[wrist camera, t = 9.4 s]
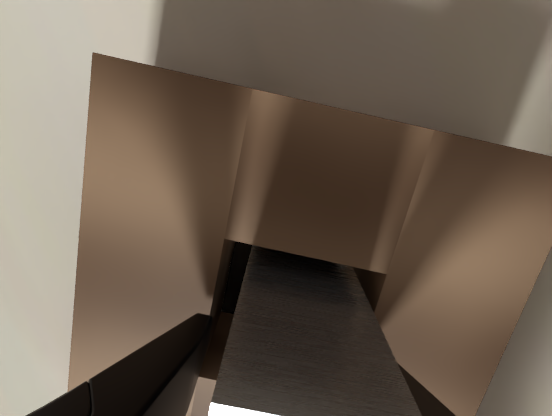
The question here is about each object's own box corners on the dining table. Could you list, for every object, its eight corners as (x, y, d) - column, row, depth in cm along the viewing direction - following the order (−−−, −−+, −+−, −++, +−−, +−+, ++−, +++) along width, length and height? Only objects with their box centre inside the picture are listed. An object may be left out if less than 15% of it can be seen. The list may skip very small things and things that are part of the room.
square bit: (320, 315, 13) (372, 592, 5) (242, 300, 13) (181, 559, 5) (340, 242, 12) (434, 444, 5) (257, 225, 12) (211, 402, 5)
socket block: (392, 428, 14) (425, 524, 11) (118, 370, 14) (63, 449, 11) (497, 153, 11) (588, 164, 8) (152, 75, 11) (92, 52, 8)
